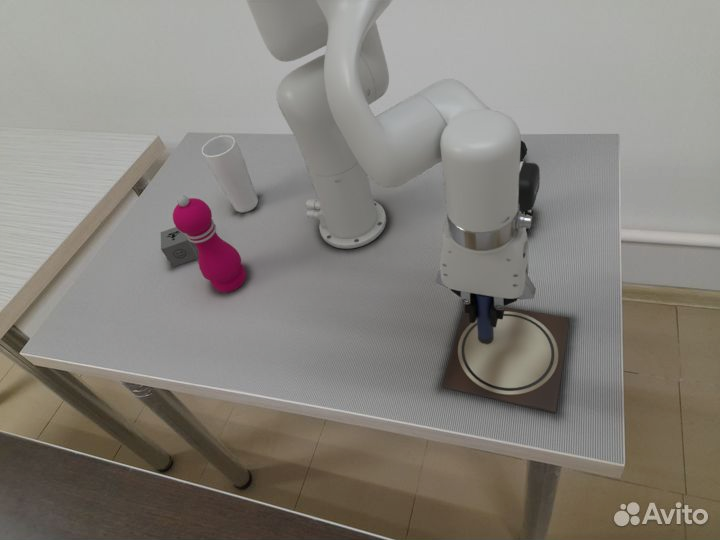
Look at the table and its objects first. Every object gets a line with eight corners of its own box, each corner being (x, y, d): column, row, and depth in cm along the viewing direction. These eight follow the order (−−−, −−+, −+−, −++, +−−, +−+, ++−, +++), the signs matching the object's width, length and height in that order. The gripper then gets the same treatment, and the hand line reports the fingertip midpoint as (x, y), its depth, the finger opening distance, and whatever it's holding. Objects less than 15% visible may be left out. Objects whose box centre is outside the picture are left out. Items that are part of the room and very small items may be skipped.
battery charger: (530, 239, 87) (533, 187, 79) (507, 236, 88) (508, 184, 80) (538, 211, 91) (542, 158, 82) (516, 208, 92) (517, 156, 84)
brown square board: (441, 387, 73) (441, 384, 72) (466, 302, 81) (466, 299, 81) (555, 413, 67) (556, 411, 66) (569, 320, 76) (570, 316, 75)
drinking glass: (225, 214, 108) (193, 155, 97) (241, 192, 112) (213, 133, 101) (252, 218, 105) (223, 158, 94) (268, 195, 109) (242, 135, 98)
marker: (476, 342, 75) (474, 296, 67) (479, 329, 76) (477, 282, 68) (491, 345, 74) (491, 298, 66) (495, 332, 76) (494, 285, 67)
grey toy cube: (196, 241, 104) (185, 223, 100) (198, 258, 101) (186, 240, 97) (172, 250, 104) (160, 232, 100) (173, 267, 100) (160, 249, 97)
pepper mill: (207, 275, 97) (155, 193, 82) (243, 258, 98) (198, 175, 83) (215, 301, 92) (161, 219, 77) (253, 284, 93) (207, 200, 78)
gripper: (563, 204, 57) (550, 305, 70) (421, 191, 63) (435, 286, 76) (553, 255, 53) (542, 351, 66) (403, 235, 58) (420, 328, 72)
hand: (484, 316), depth 71 cm, fingers closed on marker, 2 cm apart
